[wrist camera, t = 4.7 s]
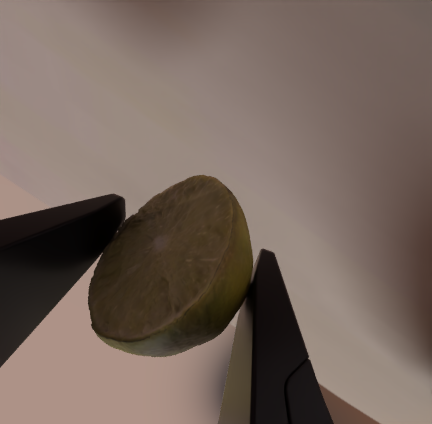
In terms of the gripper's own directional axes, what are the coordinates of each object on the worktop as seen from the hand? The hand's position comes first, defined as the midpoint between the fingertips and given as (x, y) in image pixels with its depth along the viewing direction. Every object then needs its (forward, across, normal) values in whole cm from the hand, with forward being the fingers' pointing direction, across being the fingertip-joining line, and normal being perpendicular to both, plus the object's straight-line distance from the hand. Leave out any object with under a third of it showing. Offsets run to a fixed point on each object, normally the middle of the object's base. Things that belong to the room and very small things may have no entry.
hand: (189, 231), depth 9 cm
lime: (+1, 0, 0) cm, 1 cm away
